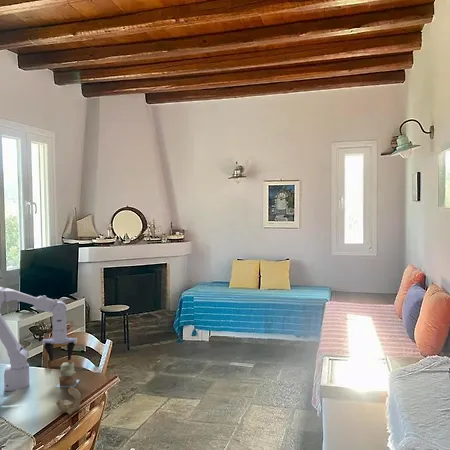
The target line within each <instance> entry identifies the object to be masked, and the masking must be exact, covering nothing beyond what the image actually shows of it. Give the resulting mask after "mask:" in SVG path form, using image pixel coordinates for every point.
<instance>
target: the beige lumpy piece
mask: <svg viewBox="0 0 450 450" xmlns="http://www.w3.org/2000/svg"><path fill="white" fill-rule="evenodd" d="M67 392H68V394H69V395H70V396H73V398H74V401H75V403H74V402H72V401H71V400H68V399H64V400H62V399H61V398H59V399H58V400H57V402H56V406H57V407H58V409H59V410H60V411H61V413H67V414H68V415H69V416H71V415H72V414H73V413H74V412H77V411H78V410H80V407H81V405H80V404H81V399H82V398H81V397H82V393H81V392H80V391H79V390H78V388H75V387H68V389H67ZM72 405H73V406H72ZM71 406H72V407H71Z"/></svg>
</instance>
